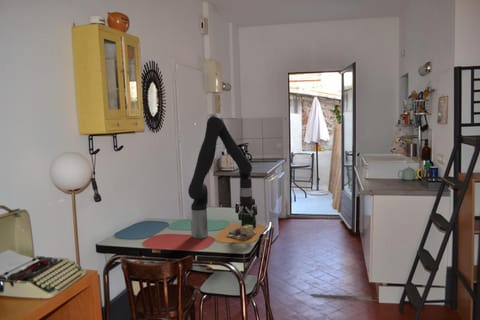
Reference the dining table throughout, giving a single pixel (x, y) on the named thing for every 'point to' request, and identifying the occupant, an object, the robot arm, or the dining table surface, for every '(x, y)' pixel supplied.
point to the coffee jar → (248, 217)
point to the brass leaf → (246, 230)
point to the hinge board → (239, 234)
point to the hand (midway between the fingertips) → (246, 221)
